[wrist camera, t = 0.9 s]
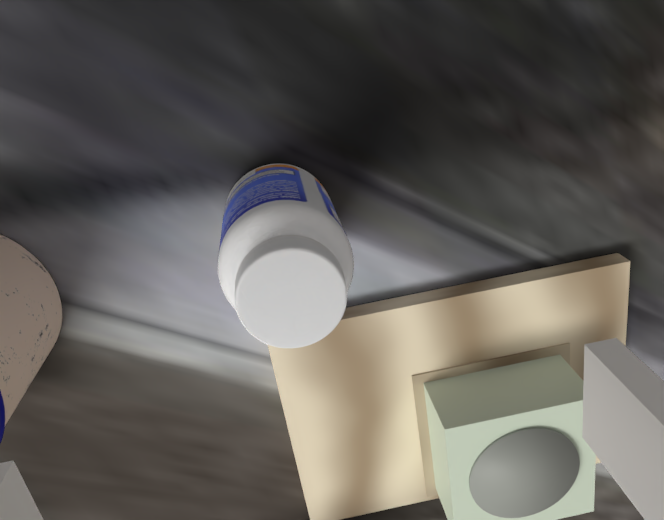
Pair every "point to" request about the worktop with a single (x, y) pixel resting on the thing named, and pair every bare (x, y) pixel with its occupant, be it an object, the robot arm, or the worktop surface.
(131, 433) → the worktop surface
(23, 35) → the worktop surface
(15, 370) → the teacup with lid
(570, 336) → the board
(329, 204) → the pill bottle
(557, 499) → the base block
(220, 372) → the worktop surface
